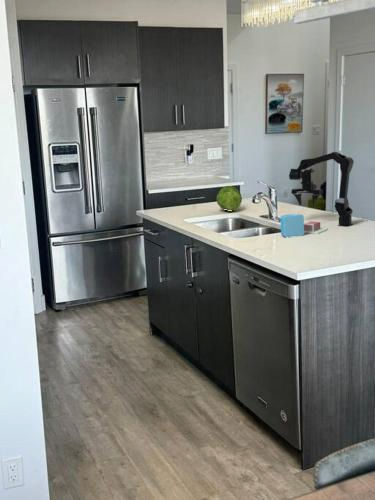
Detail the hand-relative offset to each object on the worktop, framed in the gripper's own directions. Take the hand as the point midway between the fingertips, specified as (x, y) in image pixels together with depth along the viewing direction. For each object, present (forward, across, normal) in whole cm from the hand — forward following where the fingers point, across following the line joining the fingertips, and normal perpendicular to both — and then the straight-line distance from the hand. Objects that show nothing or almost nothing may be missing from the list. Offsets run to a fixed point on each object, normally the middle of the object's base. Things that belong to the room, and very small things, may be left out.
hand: (307, 205), depth 365 cm
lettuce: (+11, +77, -22) cm, 81 cm away
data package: (+11, -11, +36) cm, 39 cm away
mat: (+11, -14, +20) cm, 27 cm away
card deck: (+10, -14, +20) cm, 26 cm away
